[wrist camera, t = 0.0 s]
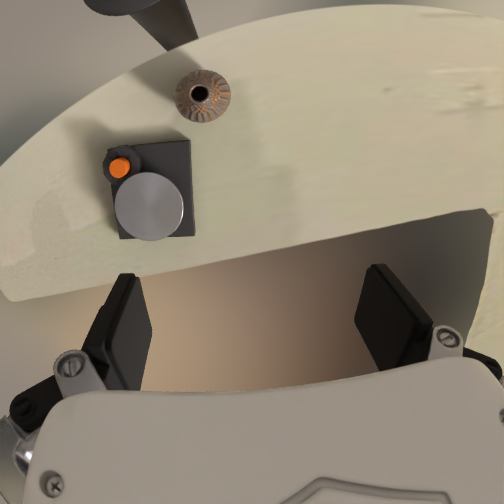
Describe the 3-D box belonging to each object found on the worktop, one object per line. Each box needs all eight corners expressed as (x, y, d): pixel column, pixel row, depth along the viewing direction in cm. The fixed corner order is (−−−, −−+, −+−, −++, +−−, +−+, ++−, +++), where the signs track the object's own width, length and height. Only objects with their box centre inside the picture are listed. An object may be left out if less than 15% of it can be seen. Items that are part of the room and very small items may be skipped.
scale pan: (111, 175, 35) (110, 175, 34) (181, 168, 36) (180, 169, 35) (121, 240, 39) (120, 242, 39) (186, 237, 40) (186, 239, 40)
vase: (176, 78, 32) (164, 69, 25) (227, 71, 33) (228, 60, 25) (182, 125, 36) (171, 128, 28) (232, 118, 36) (234, 119, 28)
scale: (109, 146, 36) (101, 149, 33) (190, 138, 37) (187, 140, 34) (120, 235, 42) (115, 244, 40) (195, 232, 43) (193, 240, 41)
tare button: (112, 158, 34) (108, 160, 33) (129, 156, 34) (125, 158, 33) (114, 176, 35) (110, 178, 34) (131, 174, 36) (127, 177, 34)
